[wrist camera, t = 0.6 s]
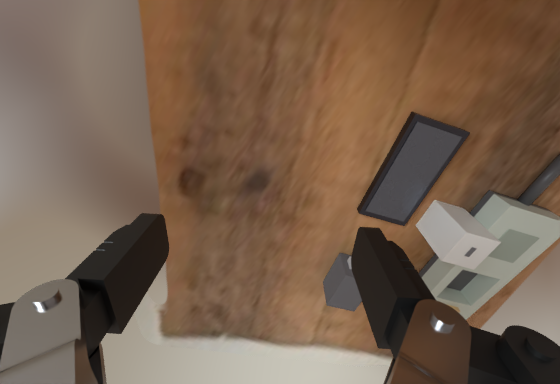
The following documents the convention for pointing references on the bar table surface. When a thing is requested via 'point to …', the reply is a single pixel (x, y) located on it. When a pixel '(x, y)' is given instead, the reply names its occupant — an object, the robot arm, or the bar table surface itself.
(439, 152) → the phone
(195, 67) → the bar table surface
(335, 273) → the plug
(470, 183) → the bar table surface
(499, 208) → the strip
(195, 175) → the bar table surface
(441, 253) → the charger
